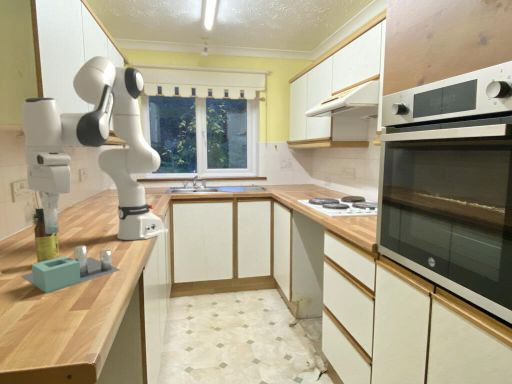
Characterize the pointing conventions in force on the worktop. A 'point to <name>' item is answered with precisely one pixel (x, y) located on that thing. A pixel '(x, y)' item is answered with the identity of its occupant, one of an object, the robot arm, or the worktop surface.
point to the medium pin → (81, 259)
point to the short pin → (105, 260)
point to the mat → (93, 272)
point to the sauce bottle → (45, 240)
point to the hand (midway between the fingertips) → (50, 207)
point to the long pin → (49, 216)
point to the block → (56, 273)
